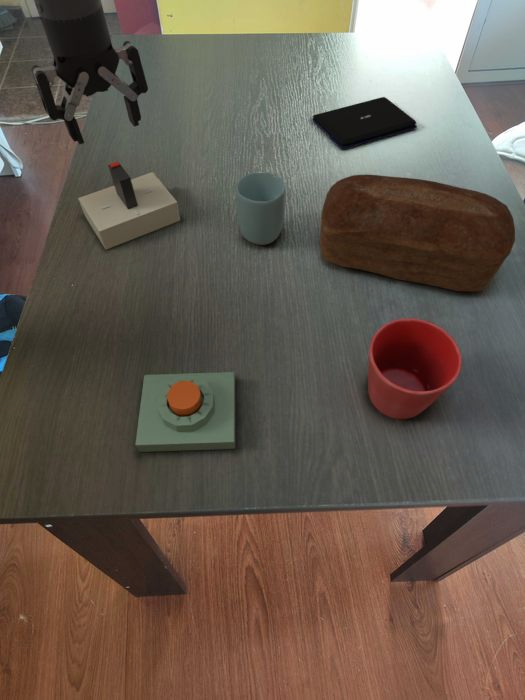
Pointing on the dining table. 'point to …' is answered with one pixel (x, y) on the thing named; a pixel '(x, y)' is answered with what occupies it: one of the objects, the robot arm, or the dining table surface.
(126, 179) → the knob
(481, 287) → the bread
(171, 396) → the power button
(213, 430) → the block
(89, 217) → the panel
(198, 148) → the dining table surface
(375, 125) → the laptop
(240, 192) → the cup
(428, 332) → the flower pot
